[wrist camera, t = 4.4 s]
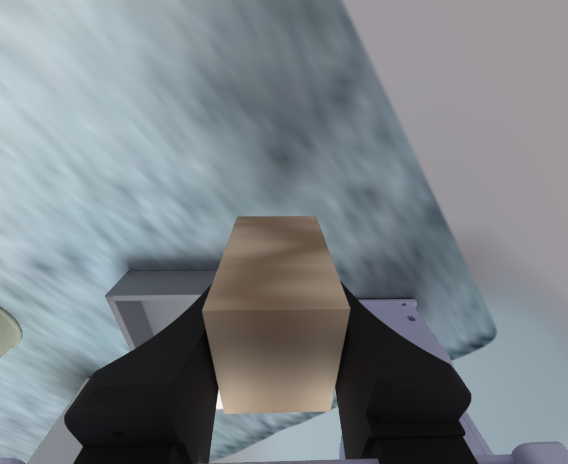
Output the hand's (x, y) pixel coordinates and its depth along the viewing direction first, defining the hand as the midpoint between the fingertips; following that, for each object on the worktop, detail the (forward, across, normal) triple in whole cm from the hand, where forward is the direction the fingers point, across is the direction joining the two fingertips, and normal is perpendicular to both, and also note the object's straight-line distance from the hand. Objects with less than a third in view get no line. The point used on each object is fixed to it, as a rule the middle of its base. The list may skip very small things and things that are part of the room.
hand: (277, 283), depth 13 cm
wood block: (+2, 0, 0) cm, 2 cm away
